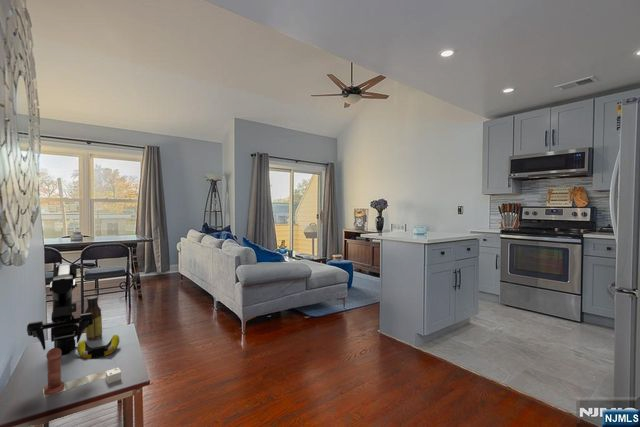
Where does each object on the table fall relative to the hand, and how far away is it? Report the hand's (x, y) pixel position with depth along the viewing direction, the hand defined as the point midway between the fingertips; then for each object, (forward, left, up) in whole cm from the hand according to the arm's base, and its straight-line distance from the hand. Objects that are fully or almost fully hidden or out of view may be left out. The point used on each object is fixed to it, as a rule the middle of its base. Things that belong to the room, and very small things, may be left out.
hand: (61, 346), depth 110 cm
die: (+19, 0, -13) cm, 23 cm away
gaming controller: (-2, +20, -14) cm, 25 cm away
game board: (+6, -1, -13) cm, 14 cm away
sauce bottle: (-14, +34, -13) cm, 39 cm away
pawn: (+3, -7, -12) cm, 14 cm away
